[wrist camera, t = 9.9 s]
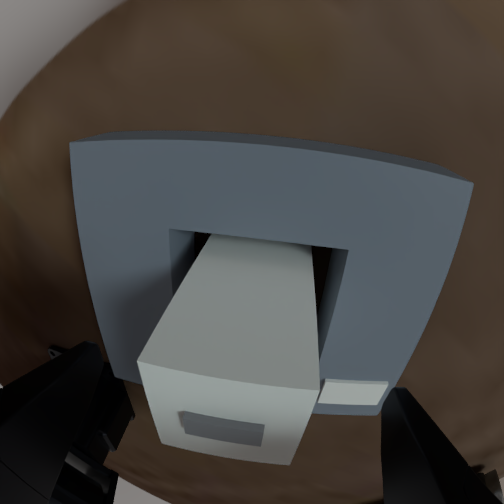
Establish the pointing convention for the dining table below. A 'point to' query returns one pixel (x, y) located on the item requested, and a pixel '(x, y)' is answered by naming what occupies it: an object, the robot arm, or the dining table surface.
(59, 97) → the dining table surface
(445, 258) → the socket plate
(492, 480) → the muzzle brake
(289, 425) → the block
